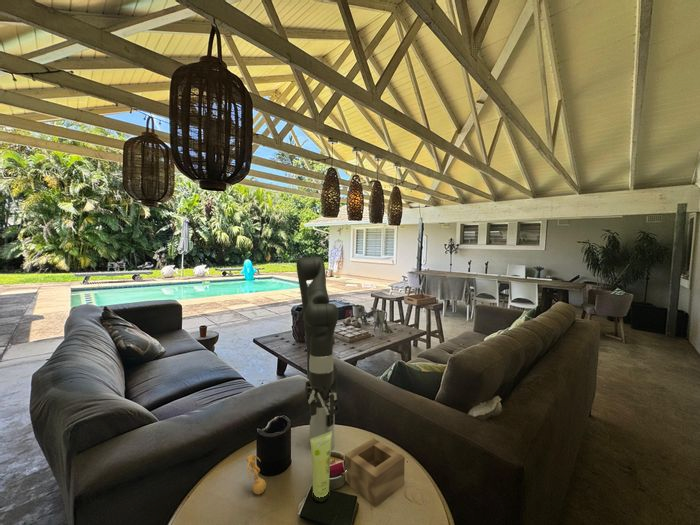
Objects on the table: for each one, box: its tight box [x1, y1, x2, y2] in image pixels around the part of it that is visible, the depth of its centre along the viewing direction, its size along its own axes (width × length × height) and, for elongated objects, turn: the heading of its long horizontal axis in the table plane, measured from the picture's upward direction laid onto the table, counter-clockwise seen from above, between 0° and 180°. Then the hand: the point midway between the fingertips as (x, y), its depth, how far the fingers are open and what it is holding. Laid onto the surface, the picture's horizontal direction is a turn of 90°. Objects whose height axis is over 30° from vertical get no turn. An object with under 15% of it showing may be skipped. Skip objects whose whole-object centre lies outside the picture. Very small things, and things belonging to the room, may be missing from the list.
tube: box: [309, 431, 332, 498], centre depth 92 cm, size 6×5×20 cm
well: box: [344, 437, 406, 508], centre depth 98 cm, size 14×14×9 cm
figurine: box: [246, 453, 267, 495], centre depth 94 cm, size 8×6×12 cm
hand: (321, 420), depth 92 cm, fingers open, 8 cm apart
